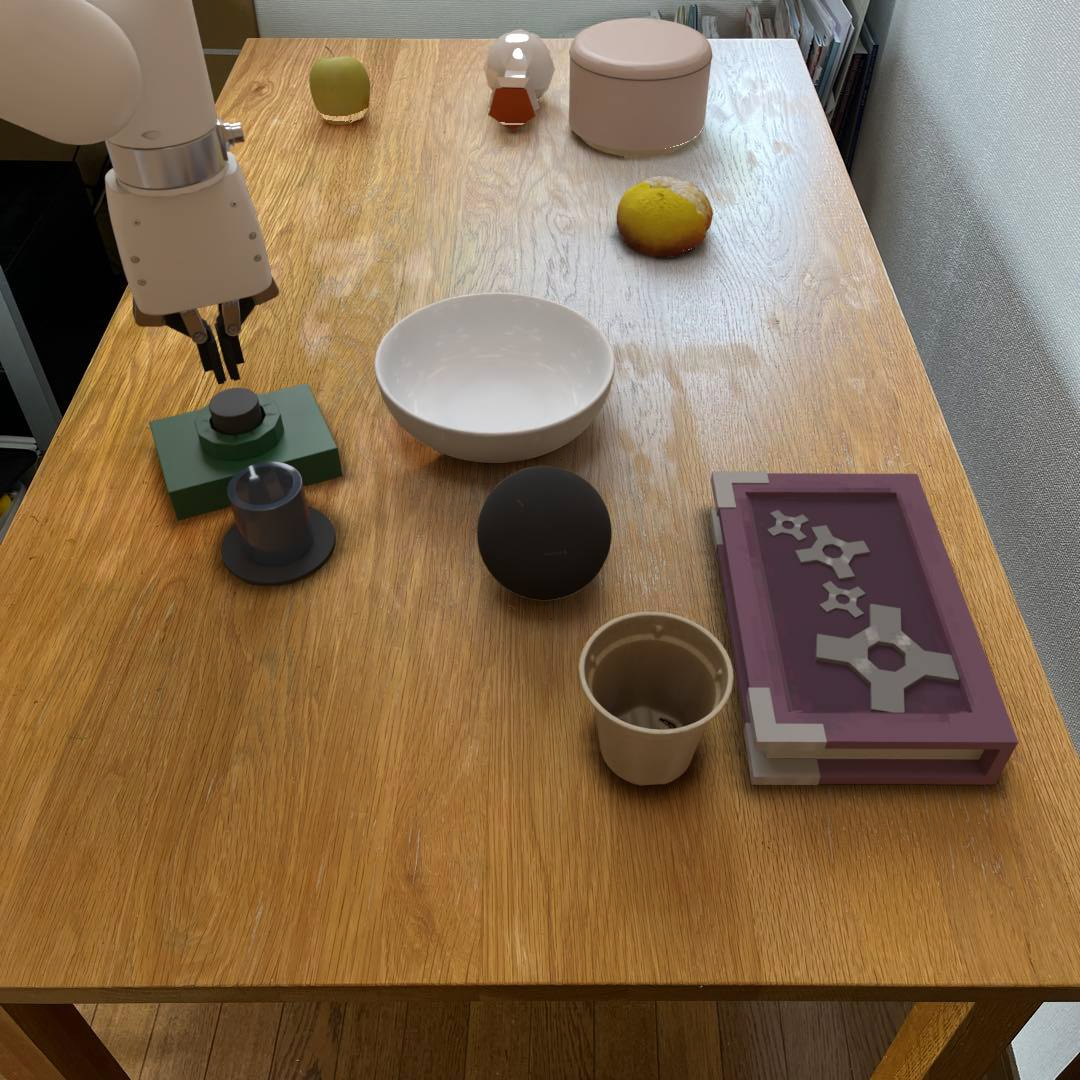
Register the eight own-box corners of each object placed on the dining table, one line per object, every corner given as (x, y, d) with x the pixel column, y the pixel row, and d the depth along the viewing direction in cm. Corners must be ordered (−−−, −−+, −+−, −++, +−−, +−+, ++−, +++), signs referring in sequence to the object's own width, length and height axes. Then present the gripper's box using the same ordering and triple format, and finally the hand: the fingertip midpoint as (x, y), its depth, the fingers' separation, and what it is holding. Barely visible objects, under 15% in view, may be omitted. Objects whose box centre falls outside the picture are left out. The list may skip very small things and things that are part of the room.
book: (705, 516, 86) (712, 471, 82) (901, 517, 86) (917, 471, 82) (746, 785, 68) (757, 741, 64) (994, 786, 68) (1019, 743, 64)
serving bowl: (432, 524, 85) (425, 460, 80) (352, 385, 99) (342, 323, 94) (653, 453, 91) (659, 390, 87) (550, 332, 105) (550, 271, 100)
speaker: (547, 649, 76) (548, 554, 69) (453, 581, 81) (444, 485, 74) (635, 576, 81) (643, 480, 74) (541, 516, 86) (540, 420, 79)
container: (554, 154, 134) (555, 60, 125) (582, 99, 146) (585, 10, 138) (694, 168, 131) (704, 72, 122) (711, 110, 143) (721, 20, 135)
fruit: (734, 243, 117) (726, 183, 110) (655, 288, 116) (642, 230, 109) (681, 198, 124) (671, 140, 117) (606, 241, 123) (592, 184, 116)
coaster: (234, 599, 79) (233, 596, 79) (212, 524, 85) (210, 521, 85) (349, 565, 82) (348, 562, 82) (319, 495, 88) (318, 491, 88)
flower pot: (702, 827, 66) (718, 750, 60) (559, 789, 68) (560, 710, 62) (727, 710, 72) (744, 629, 66) (596, 679, 74) (600, 597, 68)
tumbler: (251, 574, 81) (235, 518, 76) (236, 528, 84) (220, 472, 80) (322, 554, 82) (310, 497, 78) (304, 509, 86) (292, 453, 82)
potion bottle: (532, 96, 150) (523, 153, 141) (475, 56, 146) (462, 112, 137) (570, 45, 144) (563, 102, 135) (512, 2, 140) (500, 57, 131)
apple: (360, 129, 137) (331, 49, 131) (315, 136, 141) (284, 59, 135) (392, 106, 142) (365, 29, 136) (347, 114, 146) (319, 40, 140)
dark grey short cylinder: (219, 441, 86) (213, 421, 84) (209, 413, 88) (204, 394, 87) (267, 428, 87) (262, 409, 85) (256, 402, 89) (252, 382, 88)
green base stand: (177, 521, 86) (162, 475, 82) (158, 449, 92) (142, 404, 89) (343, 476, 89) (334, 430, 86) (313, 410, 96) (304, 365, 92)
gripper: (264, 112, 76) (305, 328, 89) (47, 149, 71) (123, 370, 84) (289, 154, 71) (329, 376, 84) (57, 196, 67) (137, 423, 79)
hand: (225, 372), depth 84 cm, fingers closed
